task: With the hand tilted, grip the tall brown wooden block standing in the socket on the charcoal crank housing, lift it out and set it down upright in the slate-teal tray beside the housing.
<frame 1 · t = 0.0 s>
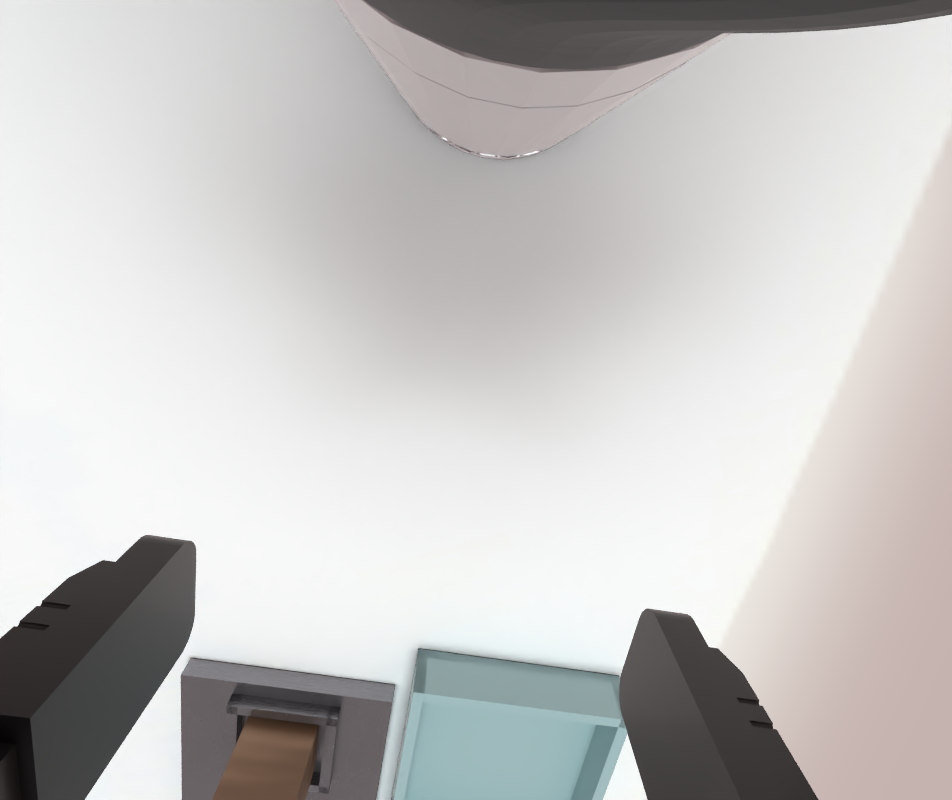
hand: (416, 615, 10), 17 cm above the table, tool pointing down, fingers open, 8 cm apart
tray: (497, 747, 35), on the table
tall brown wooden block: (283, 738, 33), point 1 cm above the table, touching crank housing
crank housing: (285, 777, 36), on the table
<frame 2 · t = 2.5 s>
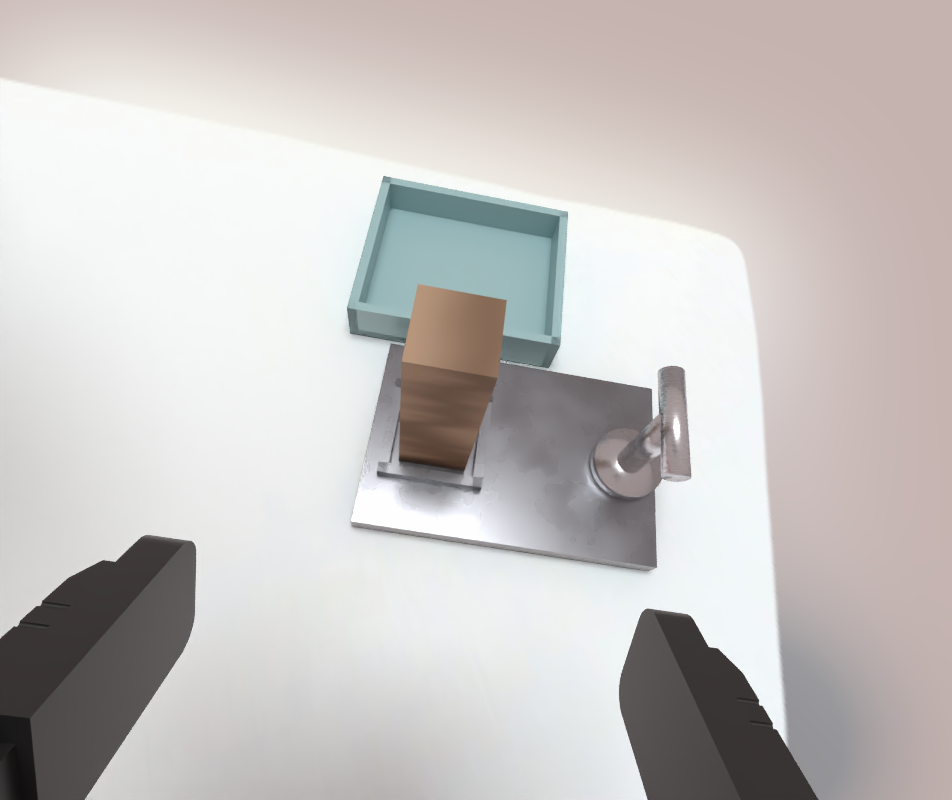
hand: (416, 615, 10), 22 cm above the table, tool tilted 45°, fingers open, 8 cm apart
tray: (461, 282, 41), on the table
tall brown wooden block: (436, 435, 34), point 1 cm above the table, touching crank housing
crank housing: (512, 455, 36), on the table
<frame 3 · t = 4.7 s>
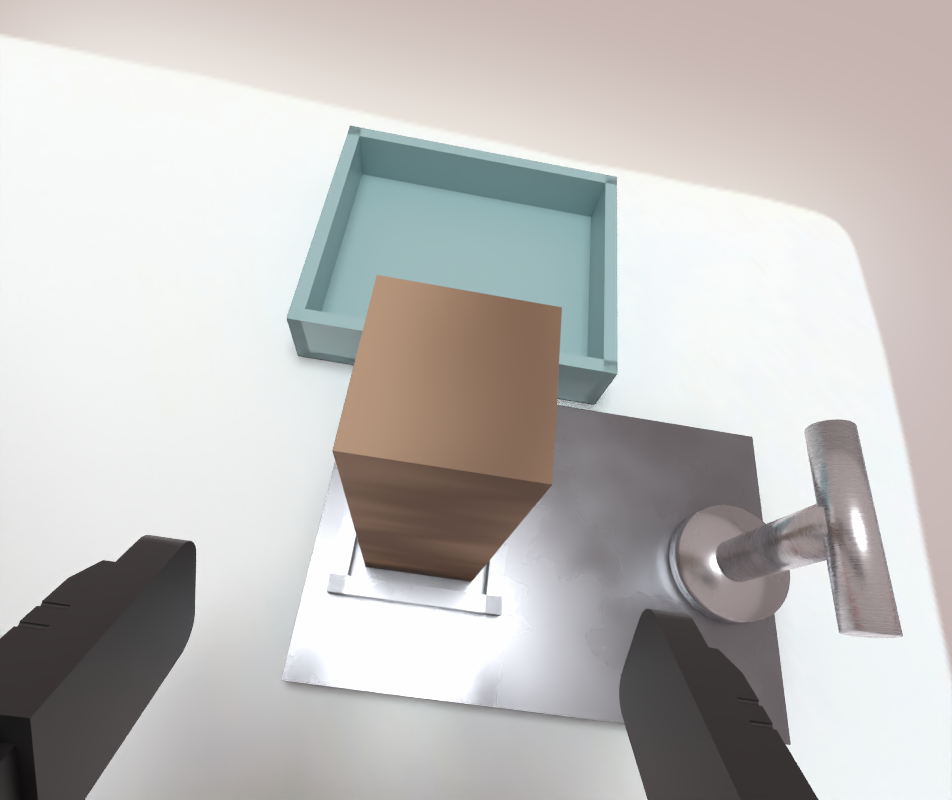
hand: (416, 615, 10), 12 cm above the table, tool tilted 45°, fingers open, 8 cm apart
tray: (464, 279, 28), on the table
tall brown wooden block: (427, 521, 21), point 1 cm above the table, touching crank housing
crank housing: (545, 546, 23), on the table
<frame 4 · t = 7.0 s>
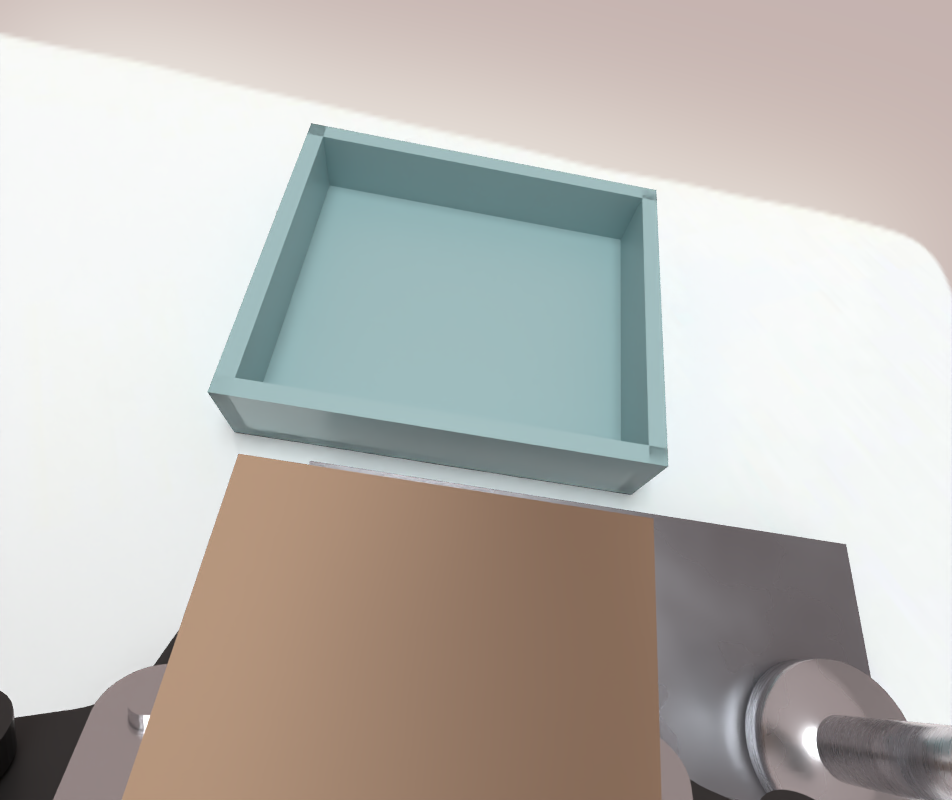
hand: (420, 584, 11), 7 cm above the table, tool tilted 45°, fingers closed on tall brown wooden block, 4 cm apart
tray: (459, 322, 22), on the table
tall brown wooden block: (401, 689, 15), point 1 cm above the table, touching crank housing, gripper
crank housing: (568, 710, 16), on the table
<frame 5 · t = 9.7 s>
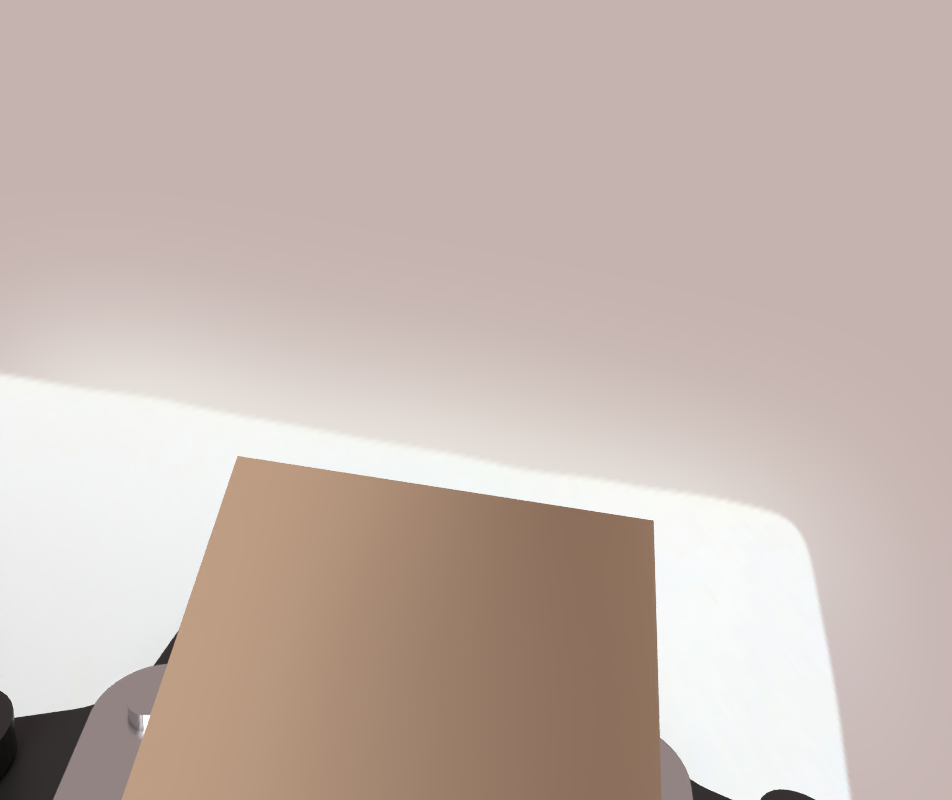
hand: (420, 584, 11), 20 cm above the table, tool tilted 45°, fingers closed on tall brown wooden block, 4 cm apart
tall brown wooden block: (401, 690, 15), point 14 cm above the table, touching gripper
when the fingers open (8 cm above the table, at t = 12.6 s): tall brown wooden block drops 1 cm, resting on tray.
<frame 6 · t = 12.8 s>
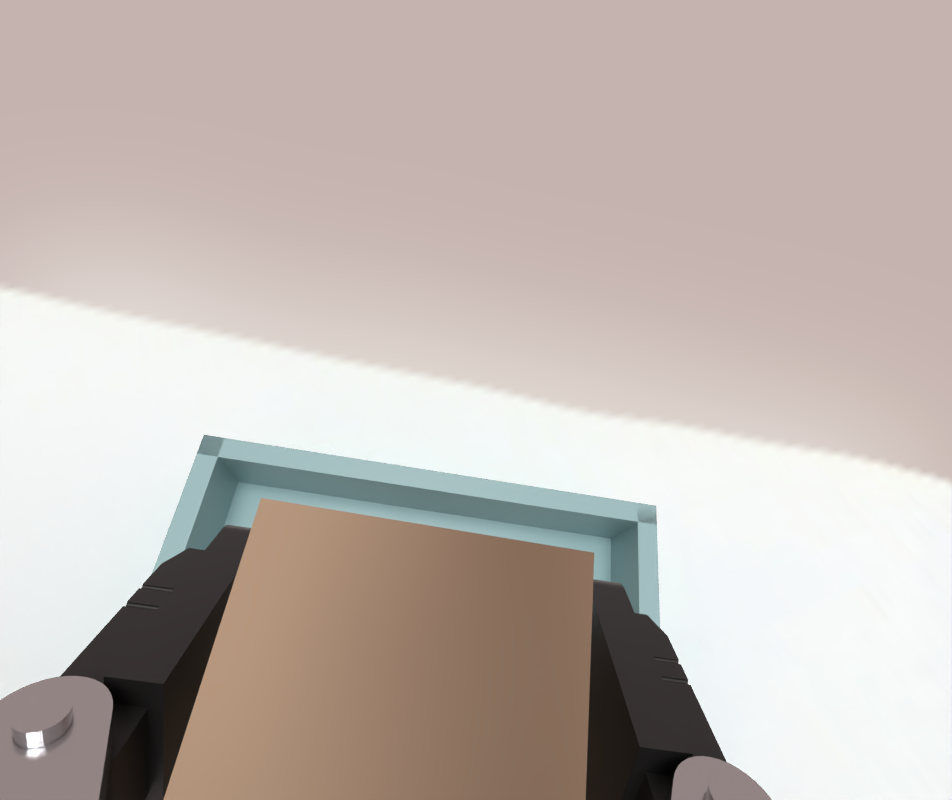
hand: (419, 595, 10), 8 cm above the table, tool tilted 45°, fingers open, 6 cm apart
tray: (399, 688, 17), on the table
tall brown wooden block: (399, 689, 16), point 1 cm above the table, touching tray
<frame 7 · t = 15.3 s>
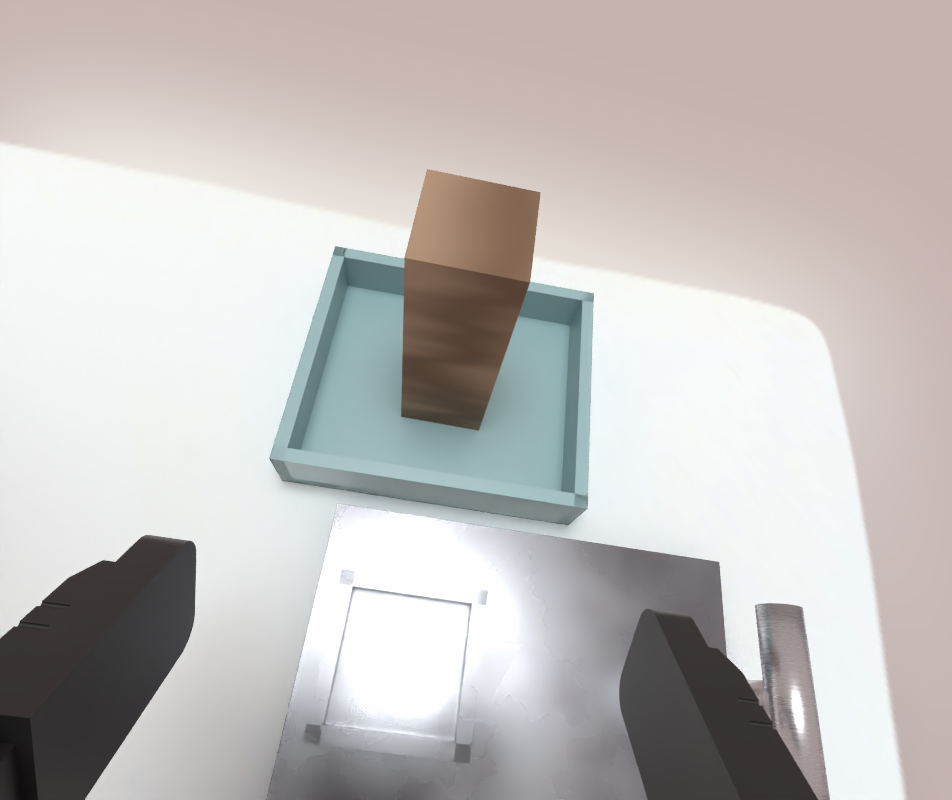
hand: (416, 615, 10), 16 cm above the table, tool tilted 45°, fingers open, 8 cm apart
tray: (445, 394, 29), on the table
tall brown wooden block: (446, 389, 29), point 1 cm above the table, touching tray
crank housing: (516, 677, 24), on the table
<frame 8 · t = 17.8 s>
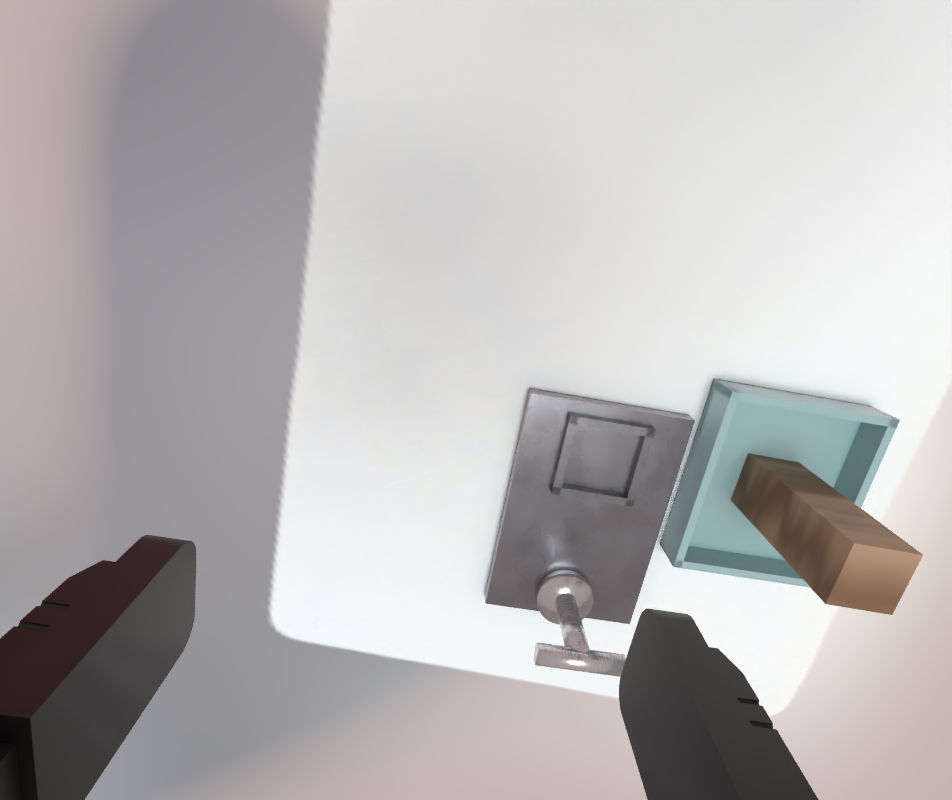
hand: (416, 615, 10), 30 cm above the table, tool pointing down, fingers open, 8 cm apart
tray: (760, 477, 42), on the table
tall brown wooden block: (764, 481, 42), point 1 cm above the table, touching tray
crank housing: (581, 509, 43), on the table
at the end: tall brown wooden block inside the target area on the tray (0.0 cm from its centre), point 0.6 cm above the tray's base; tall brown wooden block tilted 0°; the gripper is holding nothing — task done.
